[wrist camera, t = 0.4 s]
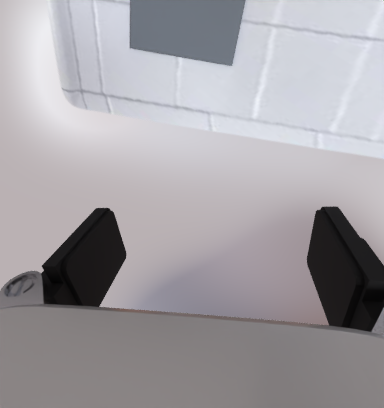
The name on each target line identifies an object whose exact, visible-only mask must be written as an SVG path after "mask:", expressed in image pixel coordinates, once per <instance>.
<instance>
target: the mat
mask: <svg viewBox="0 0 384 408" xmlns="http://www.w3.org/2000/svg"><path fill="white" fill-rule="evenodd" d="M244 4H245V0H131V23H130V48H134V49H139V50H145V51H151V52H157V53H162V54H168V55H174V56H179V57H185V58H191V59H196V60H202V61H208V62H213V63H219V64H225V65H231V66H232V63H233V58H234V53H235V48H236V43H237V39H238V34H239V29H240V24H241V19H242V14H243V9H244Z"/></svg>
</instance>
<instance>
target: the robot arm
mask: <svg viewBox="0 0 384 408" xmlns="http://www.w3.org/2000/svg"><path fill="white" fill-rule="evenodd" d="M125 259H126V251H125V247H124V244H123V241H122V238H121V235H120V231H119V228H118V225H117V221H116V218H115V215H114V212H113V211H111V210H110V209H109V208H96V209H95V210H94V211H93V212H92V213H91V214H90V216H88V218H87V219H86V220H85V221H84V222H83V223H82V224H81V225H80V226H79V227H78V228H77V229H76V230H75V231H74V233H72V235H71V236H70V237H69V238H68V239H67V240H66V241H65V242H64V243H63V244H62V245H61V246H60V247H59V248H58V249H57V250H56V251H55V252H54V254H53V255H52V256H51V257H50V258H49V259H48V260H47V261H46V262H45V263H44V264H43V265H42V267H43V269H44V271H43V272H42V273H39V272H37V271H29V272H25V273H22V274H20V275H18V276H16V277H14V278H13V279H11V280H9V281H8V282H7V283H6V284H5V285H4V286H3V288H2V289H1V291H0V408H384V265H383V264H382V263H381V261H380V260H379V259H378V257H377V256H376V255H375V253H374V252H373V250H372V249H371V248H370V247H369V245H368V244H367V242H366V241H365V240H364V239H362V238H360V237H359V235H358V234H357V233H356V231H355V230H354V229H353V227H352V226H351V224H350V223H349V222H348V220H347V219H346V217H345V216H344V215H343V213H342V212H341V210H340V209H339V208H338V207H322V208H321V210H317V211H316V214H315V219H314V224H313V229H312V235H311V240H310V245H309V251H308V256H307V264H308V267H309V270H310V273H311V276H312V279H313V281H314V284H315V287H316V290H317V292H318V295H319V298H320V301H321V303H322V306H323V309H324V312H325V315H326V317H327V320H328V323H329V325H318V324H307V323H298V322H287V321H276V320H264V319H251V318H239V317H238V318H237V317H227V316H214V315H201V314H188V313H175V312H161V311H148V310H134V309H120V308H106V307H99V306H100V304H101V302H102V301H103V299H104V297H105V295H106V293H107V291H108V290H109V288H110V286H111V284H112V282H113V280H114V279H115V277H116V275H117V273H118V271H119V270H120V268H121V266H122V264H123V262H124V261H125Z"/></svg>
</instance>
